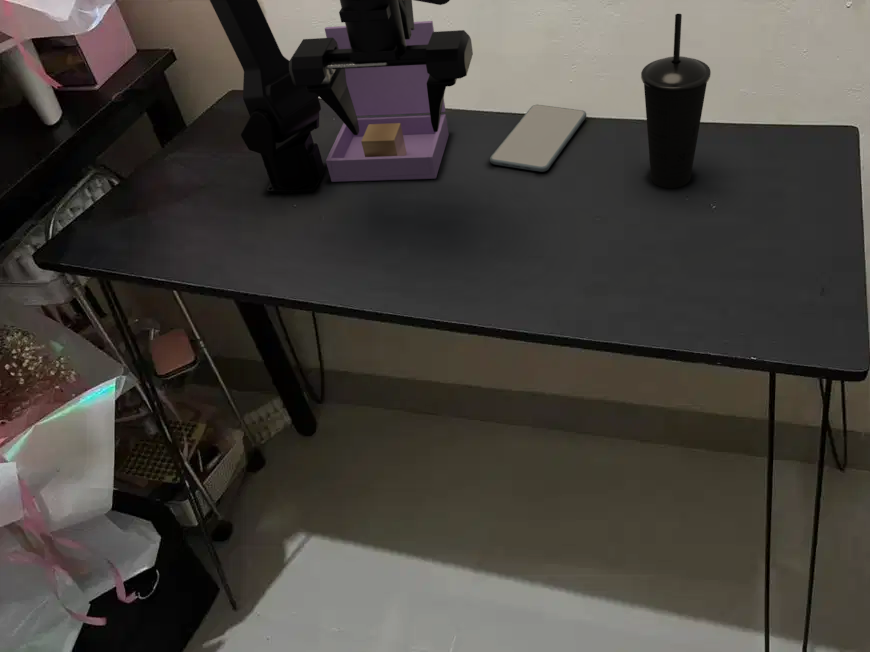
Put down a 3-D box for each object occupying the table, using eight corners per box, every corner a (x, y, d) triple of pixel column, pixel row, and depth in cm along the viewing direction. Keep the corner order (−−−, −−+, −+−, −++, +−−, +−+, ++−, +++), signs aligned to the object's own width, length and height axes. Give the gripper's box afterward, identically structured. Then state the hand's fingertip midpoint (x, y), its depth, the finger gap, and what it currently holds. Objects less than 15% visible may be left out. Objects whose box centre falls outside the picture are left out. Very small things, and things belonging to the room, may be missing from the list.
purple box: (436, 178, 109) (432, 156, 106) (331, 181, 111) (325, 160, 108) (449, 134, 116) (445, 113, 114) (351, 138, 118) (345, 117, 116)
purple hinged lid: (431, 22, 106) (437, 10, 109) (324, 28, 108) (333, 16, 111) (444, 112, 114) (450, 98, 117) (344, 116, 116) (352, 102, 119)
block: (368, 171, 111) (361, 141, 107) (375, 153, 114) (368, 124, 111) (400, 170, 110) (394, 139, 107) (406, 152, 113) (400, 122, 110)
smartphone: (487, 159, 109) (533, 103, 118) (488, 165, 110) (533, 109, 119) (546, 168, 106) (588, 110, 115) (546, 175, 107) (588, 116, 116)
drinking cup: (632, 190, 102) (633, 27, 88) (648, 158, 107) (652, -2, 93) (694, 198, 100) (706, 32, 85) (708, 164, 104) (721, 2, 90)
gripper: (470, -47, 87) (486, 94, 98) (299, -35, 90) (334, 100, 101) (454, -5, 79) (474, 143, 90) (268, 7, 82) (309, 149, 93)
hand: (396, 131), depth 94 cm, fingers open, 9 cm apart
